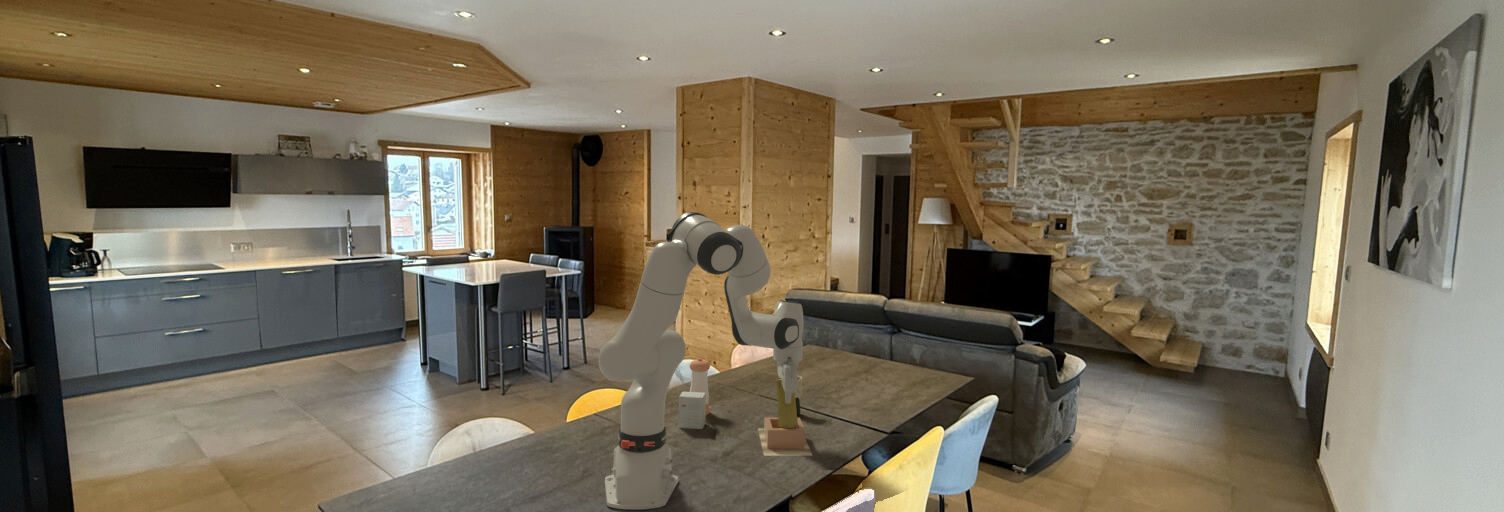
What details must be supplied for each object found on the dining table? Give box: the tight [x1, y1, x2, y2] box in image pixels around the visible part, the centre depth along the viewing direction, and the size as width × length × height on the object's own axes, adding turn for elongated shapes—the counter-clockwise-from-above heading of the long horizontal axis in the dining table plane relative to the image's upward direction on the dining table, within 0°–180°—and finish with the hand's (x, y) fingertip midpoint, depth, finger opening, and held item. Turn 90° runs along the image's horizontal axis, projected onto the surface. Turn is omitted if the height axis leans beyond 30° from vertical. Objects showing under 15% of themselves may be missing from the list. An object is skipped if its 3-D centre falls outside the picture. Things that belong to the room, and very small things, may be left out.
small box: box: [678, 391, 707, 430], centre depth 210 cm, size 8×6×10 cm
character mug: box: [795, 375, 804, 415], centre depth 224 cm, size 11×7×13 cm, turn 30°
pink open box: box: [763, 417, 806, 448], centre depth 196 cm, size 11×11×6 cm
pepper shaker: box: [689, 357, 711, 416], centre depth 223 cm, size 7×7×19 cm
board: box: [757, 428, 813, 457], centre depth 196 cm, size 22×14×1 cm, turn 4°
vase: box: [776, 377, 798, 428], centre depth 195 cm, size 6×6×14 cm
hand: (786, 399), depth 195 cm, fingers closed on vase, 6 cm apart
